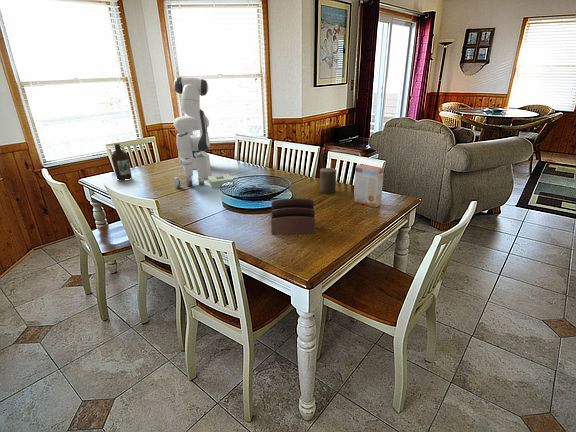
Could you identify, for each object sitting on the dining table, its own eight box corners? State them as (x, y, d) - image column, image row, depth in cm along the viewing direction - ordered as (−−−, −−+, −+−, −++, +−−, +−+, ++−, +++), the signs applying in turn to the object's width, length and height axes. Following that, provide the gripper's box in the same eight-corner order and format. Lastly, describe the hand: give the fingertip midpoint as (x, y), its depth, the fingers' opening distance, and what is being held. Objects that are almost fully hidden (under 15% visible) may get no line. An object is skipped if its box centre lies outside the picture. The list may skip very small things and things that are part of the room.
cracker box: (381, 205, 184) (384, 167, 176) (375, 208, 180) (378, 170, 172) (359, 199, 193) (361, 163, 185) (353, 202, 189) (355, 165, 181)
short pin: (198, 184, 226) (197, 177, 224) (204, 183, 227) (203, 176, 225) (199, 185, 222) (198, 178, 221) (205, 185, 224) (204, 177, 222)
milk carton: (211, 175, 244) (208, 149, 236) (208, 178, 237) (205, 151, 230) (201, 175, 244) (198, 149, 237) (198, 178, 238) (195, 151, 230)
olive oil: (114, 179, 240) (106, 144, 231) (129, 176, 247) (122, 141, 237) (119, 182, 233) (111, 146, 223) (135, 179, 240) (127, 143, 230)
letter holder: (272, 225, 163) (271, 198, 158) (313, 224, 163) (314, 197, 158) (271, 235, 154) (270, 206, 149) (315, 234, 154) (315, 205, 148)
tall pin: (186, 185, 223) (184, 170, 219) (192, 184, 224) (190, 169, 220) (187, 186, 220) (185, 171, 216) (193, 185, 221) (190, 171, 217)
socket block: (208, 182, 230) (207, 176, 228) (228, 179, 234) (228, 173, 233) (212, 188, 218) (211, 182, 216) (233, 185, 222) (233, 179, 221)
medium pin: (175, 187, 221) (173, 177, 218) (180, 186, 222) (179, 176, 219) (175, 189, 217) (173, 178, 215) (181, 188, 219) (179, 177, 216)
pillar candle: (334, 194, 201) (335, 170, 195) (318, 193, 203) (319, 169, 197) (336, 189, 210) (337, 165, 204) (320, 188, 212) (320, 165, 206)
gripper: (179, 155, 223) (182, 175, 228) (182, 162, 205) (185, 184, 211) (189, 154, 225) (191, 174, 230) (193, 161, 207) (196, 183, 213)
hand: (188, 179), depth 220 cm, fingers closed on tall pin, 4 cm apart
